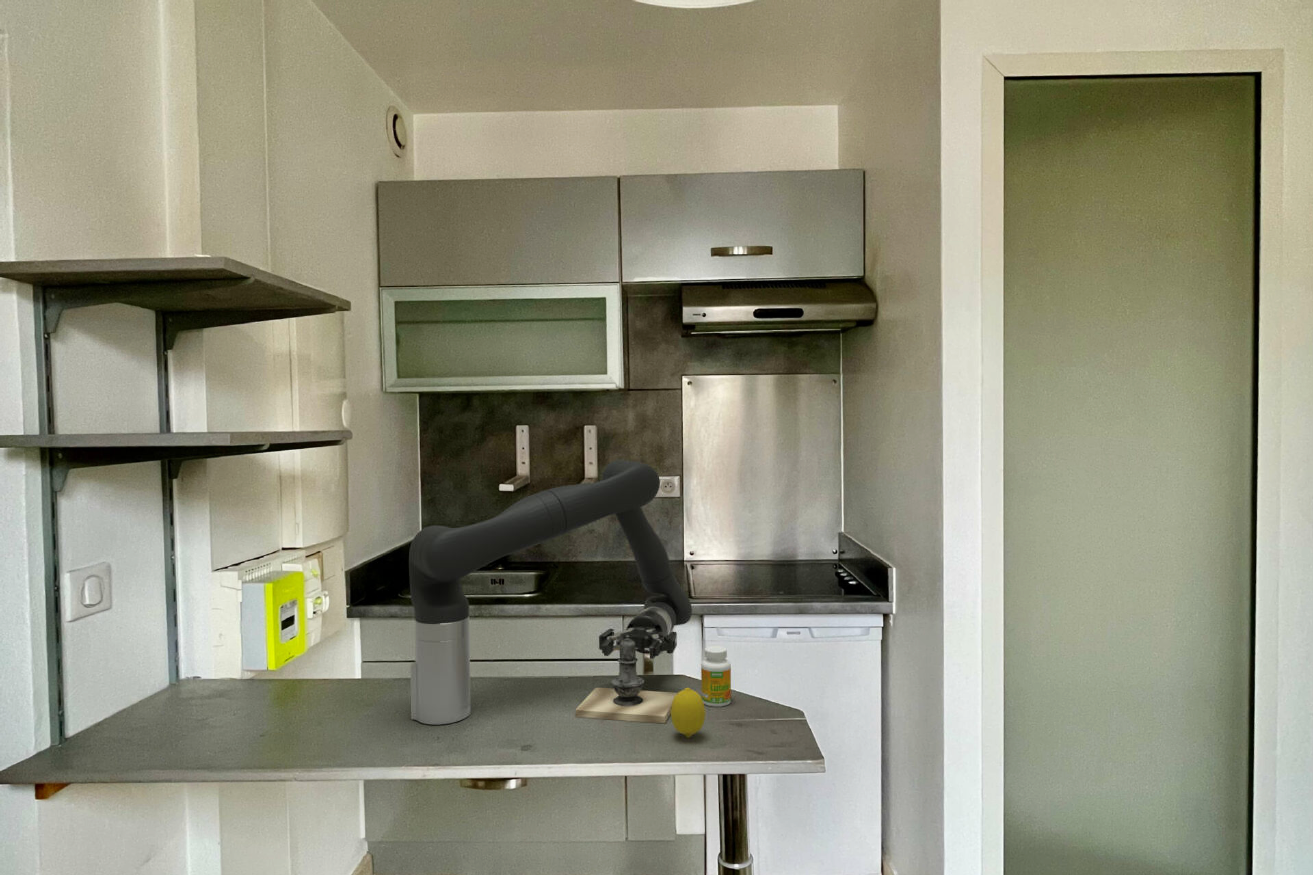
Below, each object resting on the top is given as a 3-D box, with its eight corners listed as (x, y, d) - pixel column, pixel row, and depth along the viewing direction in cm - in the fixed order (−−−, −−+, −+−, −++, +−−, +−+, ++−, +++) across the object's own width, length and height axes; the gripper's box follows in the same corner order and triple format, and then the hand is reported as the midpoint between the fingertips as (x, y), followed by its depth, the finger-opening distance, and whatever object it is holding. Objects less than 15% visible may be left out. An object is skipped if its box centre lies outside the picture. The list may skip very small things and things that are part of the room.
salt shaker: (640, 707, 134) (639, 639, 134) (608, 705, 135) (607, 637, 135) (647, 696, 139) (646, 630, 139) (616, 694, 141) (615, 629, 141)
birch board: (575, 716, 133) (575, 709, 133) (596, 693, 145) (596, 687, 145) (664, 723, 129) (664, 716, 129) (678, 699, 141) (678, 692, 141)
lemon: (666, 741, 122) (665, 691, 122) (677, 728, 127) (676, 680, 127) (699, 746, 120) (699, 695, 120) (709, 732, 125) (708, 684, 125)
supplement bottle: (709, 709, 136) (708, 654, 136) (696, 699, 141) (696, 646, 141) (736, 704, 138) (735, 651, 138) (723, 695, 143) (722, 643, 143)
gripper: (615, 608, 154) (590, 629, 139) (684, 611, 151) (666, 632, 135) (616, 645, 155) (590, 670, 139) (685, 649, 151) (667, 674, 135)
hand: (628, 651), depth 137 cm, fingers open, 8 cm apart
